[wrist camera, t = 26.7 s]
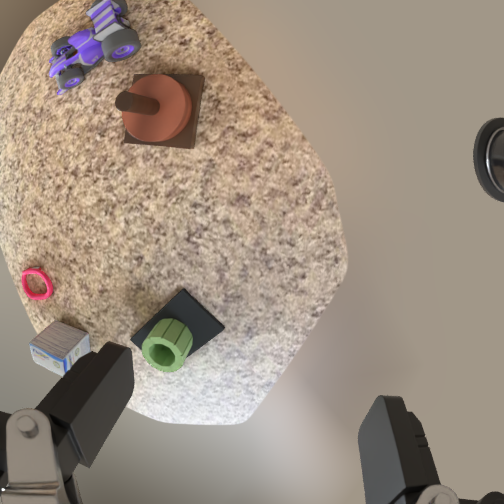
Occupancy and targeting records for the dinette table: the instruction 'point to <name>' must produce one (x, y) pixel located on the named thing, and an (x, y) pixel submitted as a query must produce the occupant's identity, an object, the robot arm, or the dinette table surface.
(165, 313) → the mat
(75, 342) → the medicine box
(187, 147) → the stand
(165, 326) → the green ring
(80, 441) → the robot arm
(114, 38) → the toy race car
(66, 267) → the dinette table surface
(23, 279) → the fitness band
